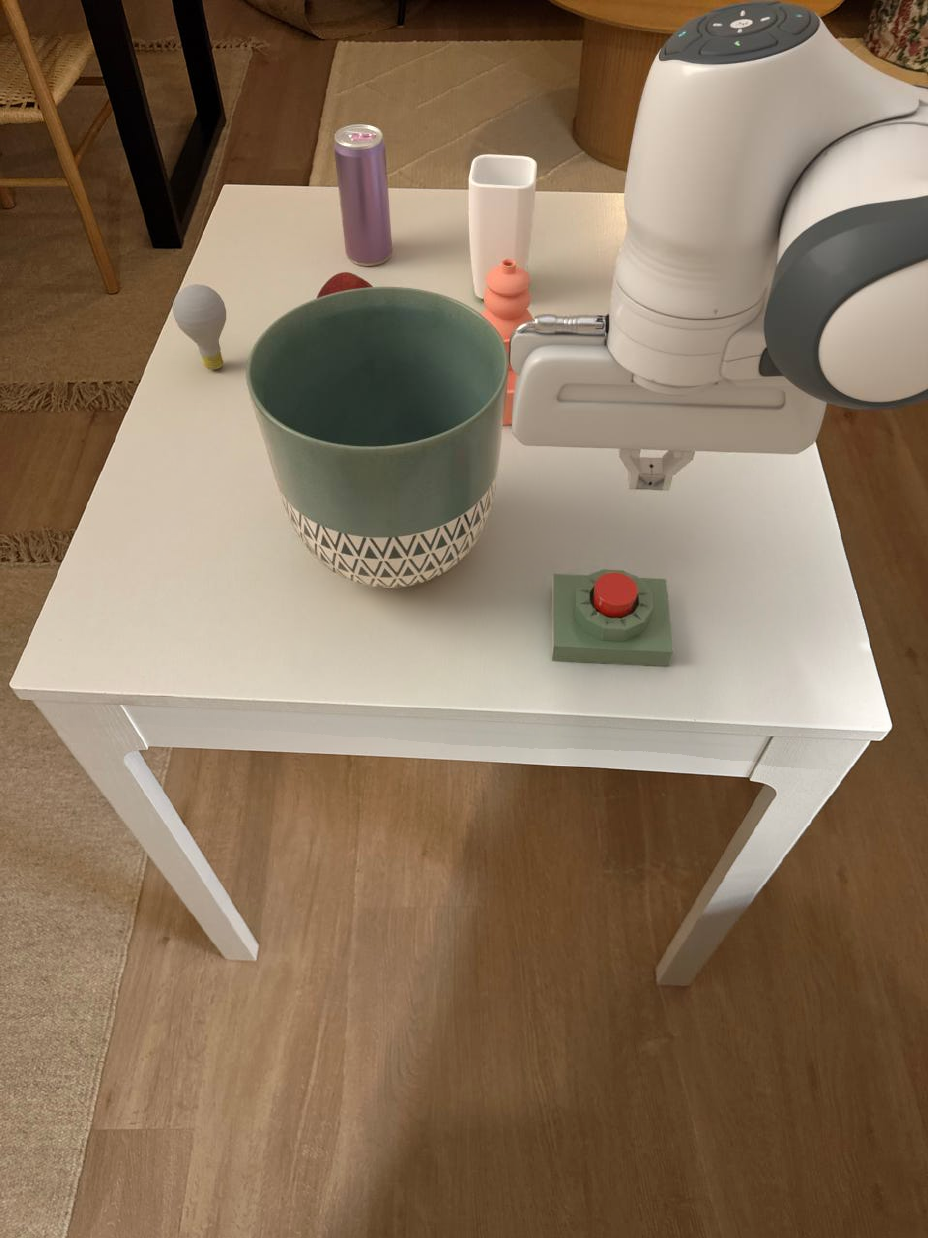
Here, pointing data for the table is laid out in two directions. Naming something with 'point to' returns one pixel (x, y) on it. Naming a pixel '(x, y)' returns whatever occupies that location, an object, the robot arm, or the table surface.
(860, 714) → the table surface
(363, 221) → the beverage can
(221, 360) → the light bulb
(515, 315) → the pottery
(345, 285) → the apple
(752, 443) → the robot arm
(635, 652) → the control block
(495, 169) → the cup
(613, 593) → the button
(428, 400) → the planter
